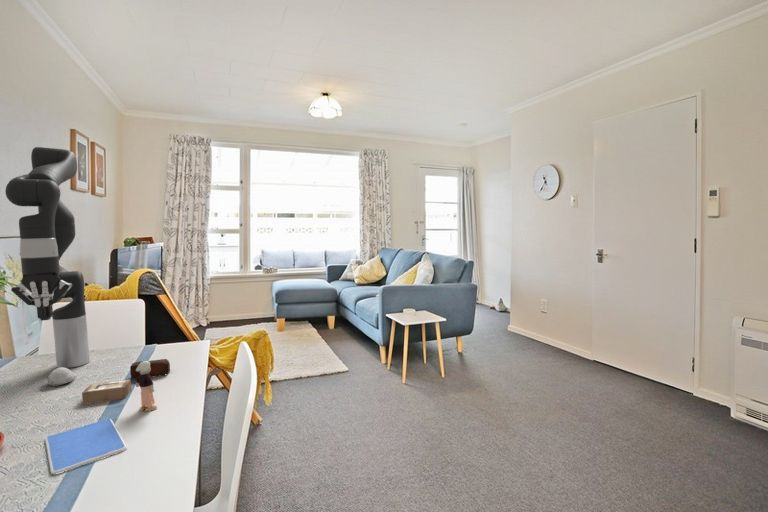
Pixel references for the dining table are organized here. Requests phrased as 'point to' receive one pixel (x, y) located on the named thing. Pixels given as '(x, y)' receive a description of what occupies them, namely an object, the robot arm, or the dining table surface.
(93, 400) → the marked cardboard box
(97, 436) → the tablet computer
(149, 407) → the grandmother figurine
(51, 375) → the white seashell
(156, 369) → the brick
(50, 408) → the dining table surface
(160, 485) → the dining table surface
